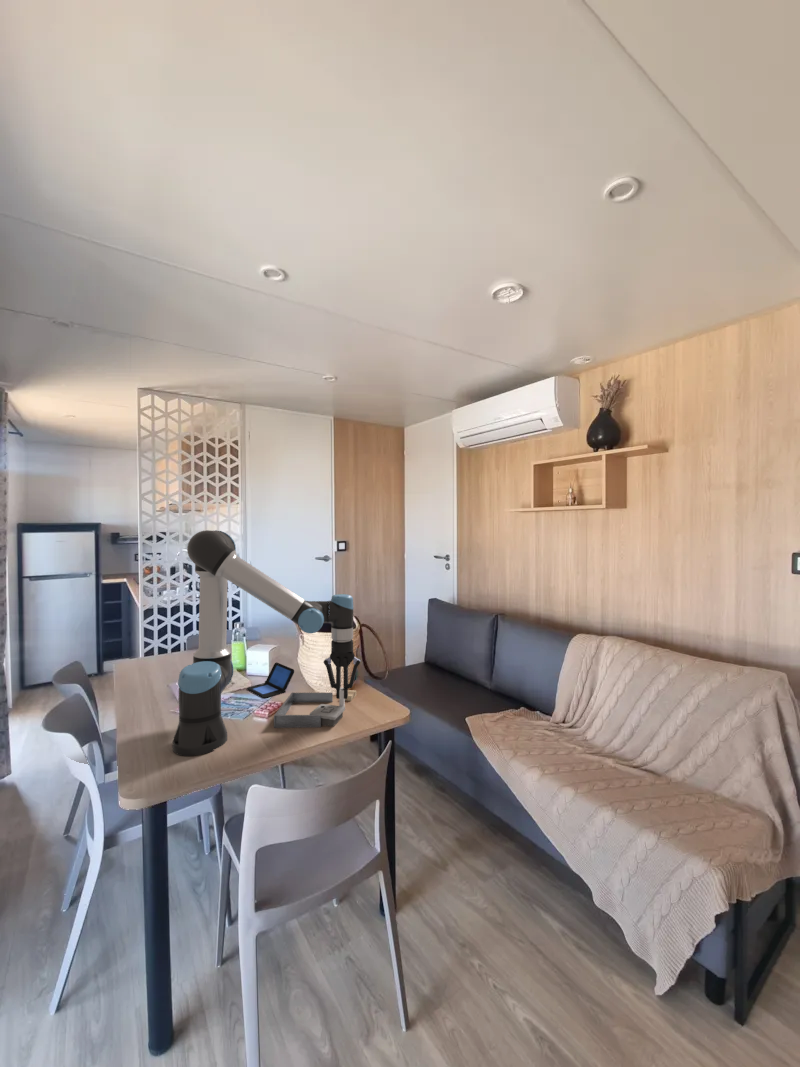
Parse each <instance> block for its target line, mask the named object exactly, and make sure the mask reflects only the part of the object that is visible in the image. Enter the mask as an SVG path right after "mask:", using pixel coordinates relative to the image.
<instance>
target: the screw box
mask: <svg viewBox="0 0 800 1067" xmlns="http://www.w3.org/2000/svg"><path fill="white" fill-rule="evenodd" d="M356 696H357V690H354V689H353V690H351V689H348V697H347V699H345V701H346V702H352V701H353V700H354V699H355V697H356Z"/></svg>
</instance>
